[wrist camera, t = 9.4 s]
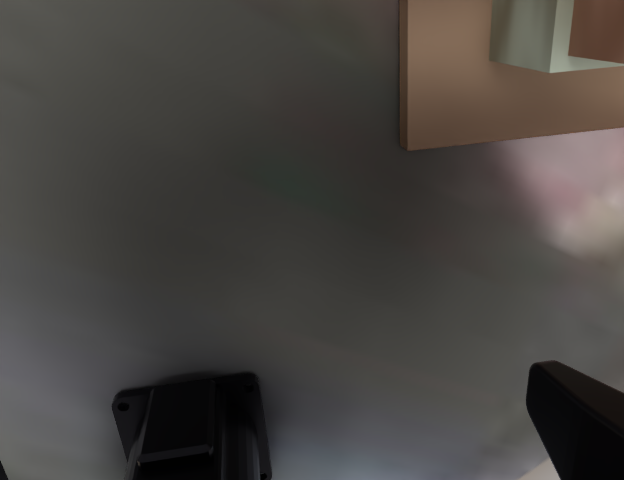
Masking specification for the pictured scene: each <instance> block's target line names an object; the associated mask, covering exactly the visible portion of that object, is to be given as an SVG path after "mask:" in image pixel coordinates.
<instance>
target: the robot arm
mask: <svg viewBox="0 0 624 480" xmlns="http://www.w3.org/2000/svg"><path fill="white" fill-rule="evenodd" d="M245 384H252V386H250V387H245V386H244V385H245ZM122 402H126V403H128V405H122V404H121V403H122ZM526 406H527V410H528V413H529V416H530V418H531V420H532V422H533V424H534V426H535V428H536V430H537V432H538V434H539V436H540V438H541V440H542V442H543V444H544V447H545V449H546V451H547V453H548V455H549V457H550V459H551V461H552V463H553V465H554V467H555V469H556V471H557V473H558V475H559V478H560V479H561V480H624V393H623V392H621V391H618V390H616V389H614V388H612V387H610V386H608V385H606V384H604V383H602V382H600V381H598V380H596V379H594V378H592V377H589V376H587V375H585V374H583V373H581V372H579V371H577V370H575V369H573V368H571V367H569V366H567V365H565V364H562V363H560V362H558V361H555V360H551V361H544V362H537V363H534V364H532V365H531V367H530V370H529V377H528V386H527V394H526ZM112 411H113V414H114V417H115V421H116V424H117V428H118V431H119V434H120V438H121V441H122V445H123V448H124V451H125V455H126V458H127V462H128V464H127V469H126V473H125V477H124V480H271V478H272V469H271V462H270V455H269V448H268V441H267V434H266V427H265V420H264V413H263V406H262V399H261V392H260V385H259V380H258V378H257V377H256V376H255V375H253V374H241V375H235V376H228V377H221V378H214V379H206V380H199V381H192V382H186V383H179V384H172V385H165V386H158V387H153V388H146V389H139V390H132V391H125V392H121V393H118V394H117V395H116V396H115V397H114V399H113V403H112ZM260 473H263V474H260ZM0 480H8V478H7V475H6V473H5V471H4V468H3V466H2V464H1V461H0Z"/></svg>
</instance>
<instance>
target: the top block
mask: <svg viewBox="0 0 624 480" xmlns="http://www.w3.org/2000/svg"><path fill="white" fill-rule="evenodd" d="M568 56H573V57H580V58H587V59H594V60H600V61H607V62H614V63H621V64H624V0H574V7H573V15H572V24H571V33H570V41H569V50H568Z"/></svg>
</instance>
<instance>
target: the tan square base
mask: <svg viewBox="0 0 624 480" xmlns="http://www.w3.org/2000/svg"><path fill="white" fill-rule="evenodd" d="M573 7H574V0H399V45H400V145H401V146H402V147H403V148H405V149H406V150H407V151H412V150H421V149H430V148H439V147H448V146H457V145H466V144H476V143H485V142H494V141H503V140H512V139H521V138H530V137H539V136H549V135H558V134H567V133H576V132H585V131H594V130H603V129H613V128H622V127H624V64H621V63H614V62H607V61H600V60H594V59H587V58H580V57H573V56H568V50H569V41H570V33H571V24H572V15H573Z"/></svg>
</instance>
